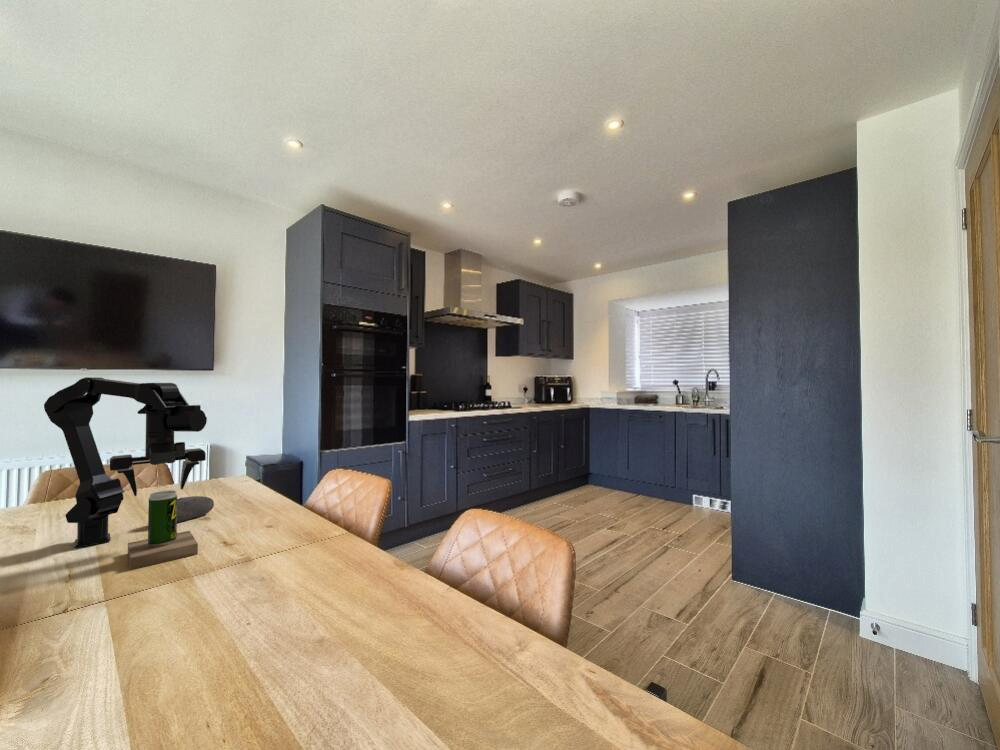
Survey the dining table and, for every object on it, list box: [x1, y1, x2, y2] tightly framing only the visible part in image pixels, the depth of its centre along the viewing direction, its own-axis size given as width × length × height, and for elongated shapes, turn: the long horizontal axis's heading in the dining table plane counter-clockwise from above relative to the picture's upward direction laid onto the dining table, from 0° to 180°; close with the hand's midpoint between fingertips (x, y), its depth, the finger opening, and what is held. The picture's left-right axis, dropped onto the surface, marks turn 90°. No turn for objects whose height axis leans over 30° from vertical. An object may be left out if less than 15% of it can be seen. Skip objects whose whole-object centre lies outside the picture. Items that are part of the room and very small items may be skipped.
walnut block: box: [127, 530, 199, 570], centre depth 100 cm, size 12×12×2 cm
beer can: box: [147, 490, 178, 547], centre depth 100 cm, size 5×5×12 cm
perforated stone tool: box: [177, 495, 215, 523], centre depth 125 cm, size 15×5×7 cm, turn 147°
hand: (159, 492), depth 107 cm, fingers open, 9 cm apart
